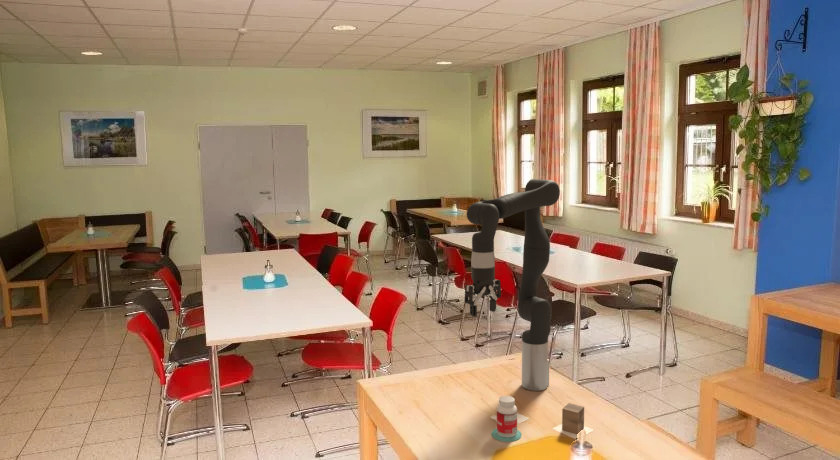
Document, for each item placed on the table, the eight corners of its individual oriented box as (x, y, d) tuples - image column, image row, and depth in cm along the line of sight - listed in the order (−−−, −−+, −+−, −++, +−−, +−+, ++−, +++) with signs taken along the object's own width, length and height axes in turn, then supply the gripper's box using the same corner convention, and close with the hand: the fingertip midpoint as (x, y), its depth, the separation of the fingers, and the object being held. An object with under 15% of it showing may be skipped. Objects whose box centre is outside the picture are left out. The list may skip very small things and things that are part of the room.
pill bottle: (495, 428, 184) (495, 394, 183) (515, 428, 184) (515, 394, 183) (498, 438, 178) (498, 403, 177) (518, 438, 178) (518, 403, 177)
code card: (509, 409, 198) (509, 409, 198) (529, 419, 191) (529, 418, 191) (489, 417, 193) (489, 417, 193) (510, 427, 186) (510, 427, 186)
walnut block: (568, 424, 187) (568, 402, 186) (583, 428, 184) (584, 406, 183) (562, 430, 183) (562, 408, 182) (577, 434, 180) (578, 412, 179)
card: (570, 420, 190) (570, 419, 190) (594, 430, 183) (594, 429, 183) (551, 429, 184) (551, 428, 184) (575, 439, 178) (575, 439, 177)
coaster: (505, 425, 188) (505, 424, 187) (527, 435, 181) (527, 434, 180) (485, 434, 182) (485, 432, 182) (507, 445, 175) (507, 444, 175)
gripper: (490, 260, 199) (490, 307, 201) (458, 266, 190) (459, 315, 193) (506, 263, 193) (506, 312, 196) (475, 269, 185) (475, 320, 187)
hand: (483, 313), depth 194 cm, fingers open, 8 cm apart
